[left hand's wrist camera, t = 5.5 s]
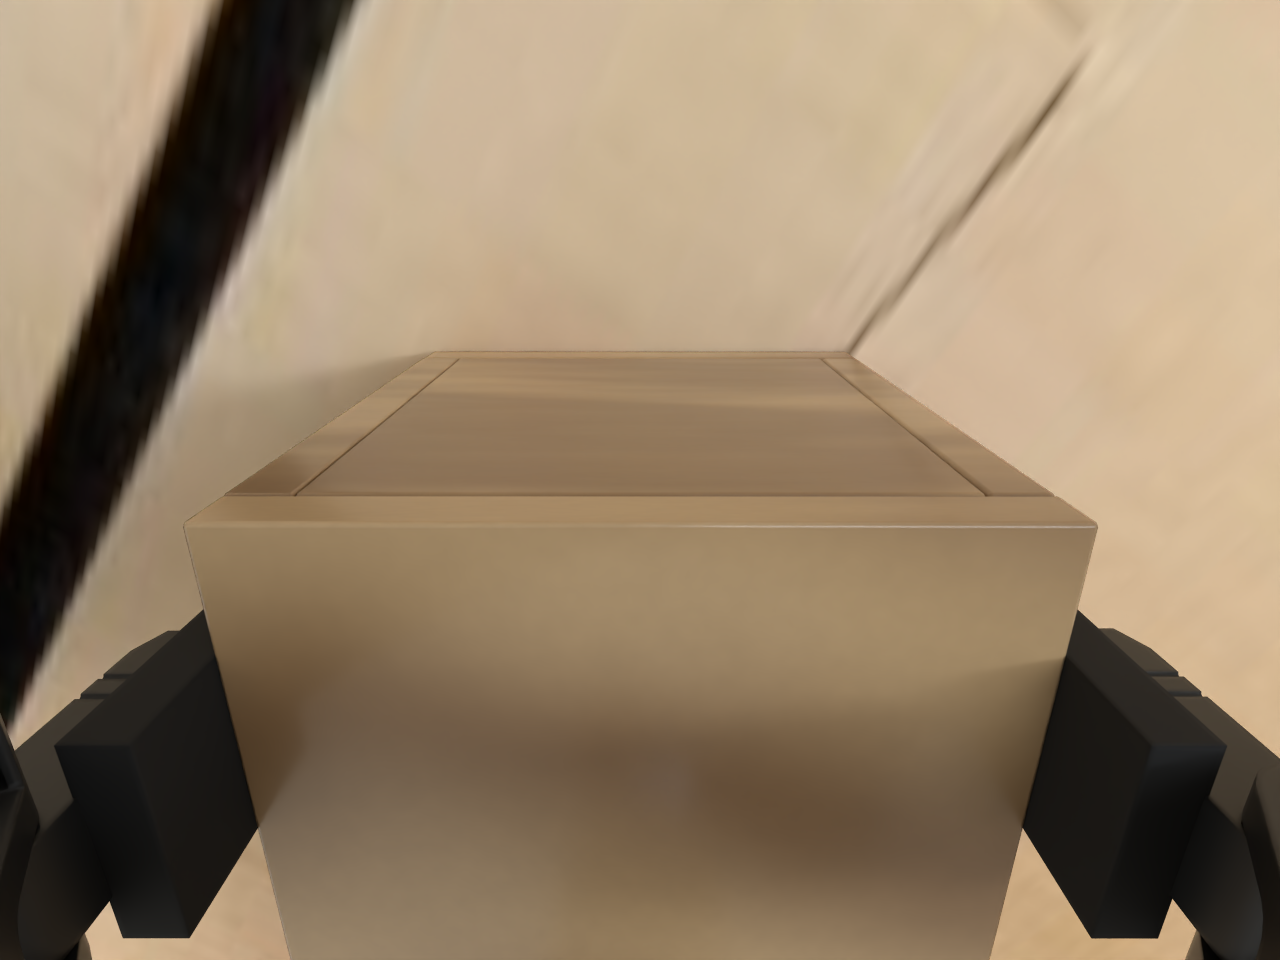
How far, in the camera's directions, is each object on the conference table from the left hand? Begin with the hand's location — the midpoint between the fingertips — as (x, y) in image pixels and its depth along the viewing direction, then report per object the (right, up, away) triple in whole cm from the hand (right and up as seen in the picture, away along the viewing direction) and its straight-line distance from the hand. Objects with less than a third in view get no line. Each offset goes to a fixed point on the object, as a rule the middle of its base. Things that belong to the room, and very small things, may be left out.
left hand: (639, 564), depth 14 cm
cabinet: (0, -5, +8) cm, 9 cm away
